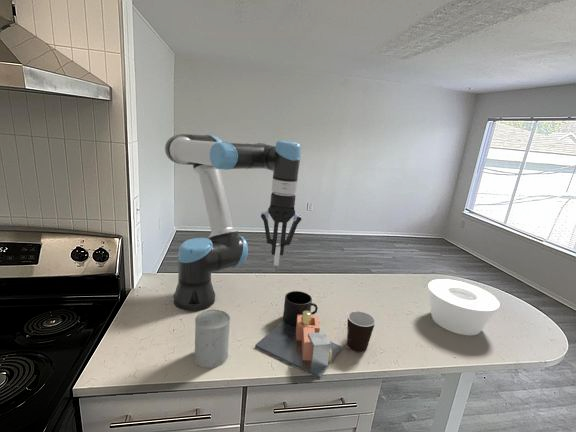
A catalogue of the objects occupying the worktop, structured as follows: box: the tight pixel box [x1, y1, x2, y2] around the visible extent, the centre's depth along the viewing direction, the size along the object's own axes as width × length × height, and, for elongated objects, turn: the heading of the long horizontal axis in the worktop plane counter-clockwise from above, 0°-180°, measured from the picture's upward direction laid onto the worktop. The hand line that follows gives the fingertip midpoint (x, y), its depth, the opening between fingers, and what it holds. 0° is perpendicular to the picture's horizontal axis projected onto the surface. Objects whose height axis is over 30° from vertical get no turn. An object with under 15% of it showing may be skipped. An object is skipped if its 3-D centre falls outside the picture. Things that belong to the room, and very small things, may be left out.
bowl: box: [427, 278, 501, 336], centre depth 124 cm, size 24×24×12 cm
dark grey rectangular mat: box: [255, 320, 342, 379], centre depth 102 cm, size 22×16×1 cm
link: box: [296, 314, 321, 361], centre depth 103 cm, size 16×7×5 cm, turn 179°
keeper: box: [308, 331, 332, 368], centre depth 95 cm, size 6×6×7 cm
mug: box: [282, 290, 319, 327], centre depth 116 cm, size 9×12×9 cm
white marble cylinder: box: [193, 309, 231, 369], centre depth 93 cm, size 10×10×12 cm
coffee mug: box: [346, 310, 376, 353], centre depth 105 cm, size 12×9×10 cm
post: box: [302, 311, 312, 325], centre depth 106 cm, size 3×3×8 cm
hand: (276, 263), depth 106 cm, fingers closed
